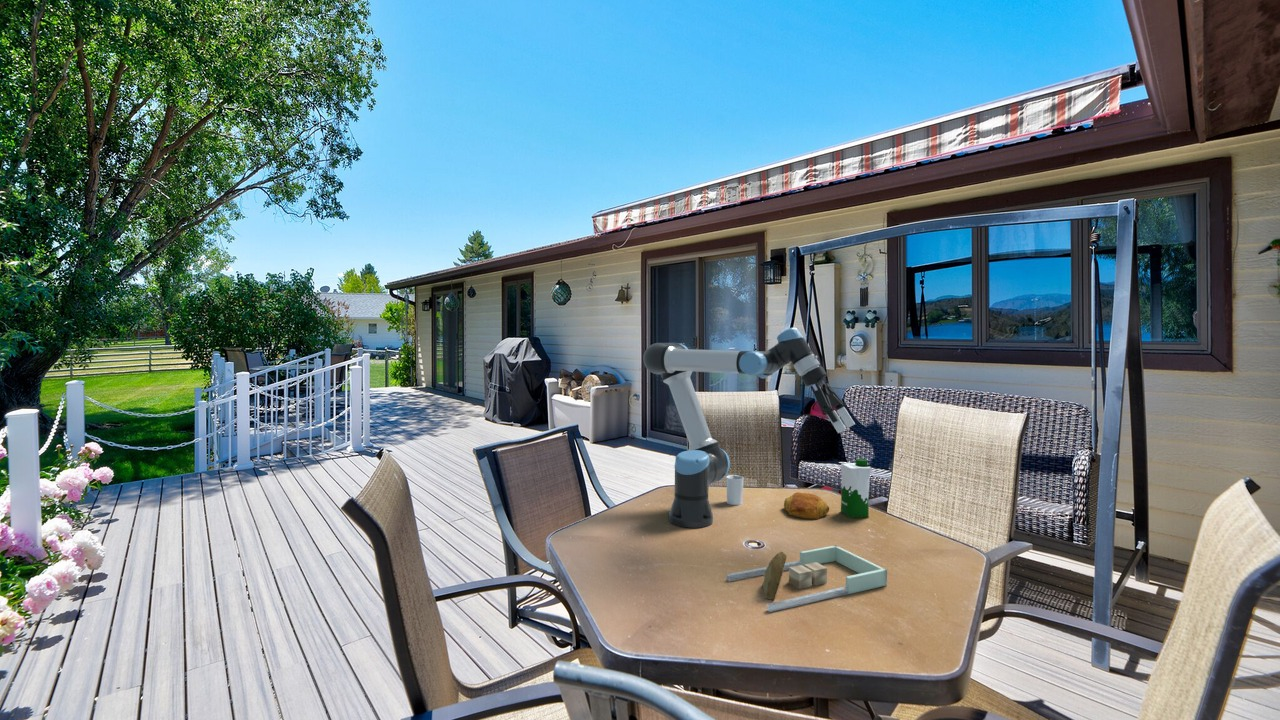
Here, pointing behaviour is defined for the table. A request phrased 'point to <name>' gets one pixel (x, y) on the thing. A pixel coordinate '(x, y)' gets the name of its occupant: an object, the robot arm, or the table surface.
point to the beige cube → (817, 573)
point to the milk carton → (855, 489)
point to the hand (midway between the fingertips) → (847, 428)
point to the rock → (774, 575)
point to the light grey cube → (800, 576)
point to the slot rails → (793, 601)
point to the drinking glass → (734, 489)
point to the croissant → (805, 506)
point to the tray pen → (868, 571)
